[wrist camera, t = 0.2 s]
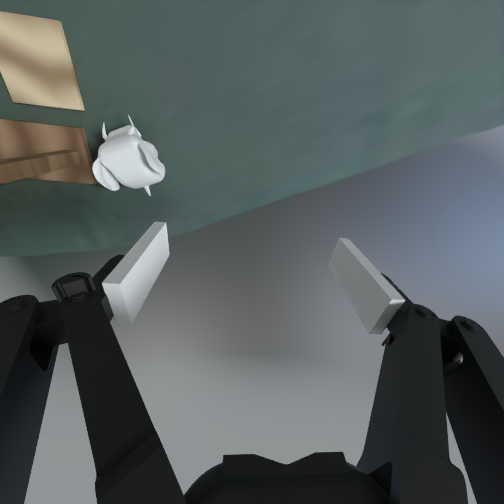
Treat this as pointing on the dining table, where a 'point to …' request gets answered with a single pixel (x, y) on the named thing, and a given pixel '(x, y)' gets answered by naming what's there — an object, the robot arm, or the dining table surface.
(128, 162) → the elephant figurine
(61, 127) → the stand
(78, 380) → the robot arm
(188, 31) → the dining table surface
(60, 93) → the cork coaster
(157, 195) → the dining table surface
